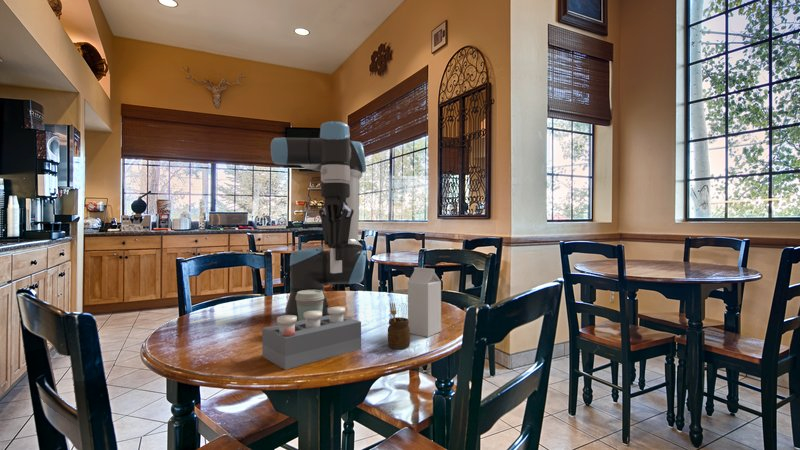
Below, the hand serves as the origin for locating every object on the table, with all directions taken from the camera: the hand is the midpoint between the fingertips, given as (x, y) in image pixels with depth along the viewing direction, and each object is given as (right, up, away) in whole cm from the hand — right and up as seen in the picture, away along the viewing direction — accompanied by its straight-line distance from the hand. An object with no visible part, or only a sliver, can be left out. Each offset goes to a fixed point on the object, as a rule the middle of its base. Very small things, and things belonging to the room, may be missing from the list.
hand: (336, 272), depth 105 cm
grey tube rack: (-5, -20, -5) cm, 21 cm away
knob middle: (-5, -17, -5) cm, 18 cm away
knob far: (0, -17, 0) cm, 17 cm away
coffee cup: (-10, -20, +14) cm, 26 cm away
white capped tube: (-10, -17, -10) cm, 22 cm away
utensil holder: (+16, -20, 0) cm, 26 cm away
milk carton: (+24, -19, +12) cm, 33 cm away
